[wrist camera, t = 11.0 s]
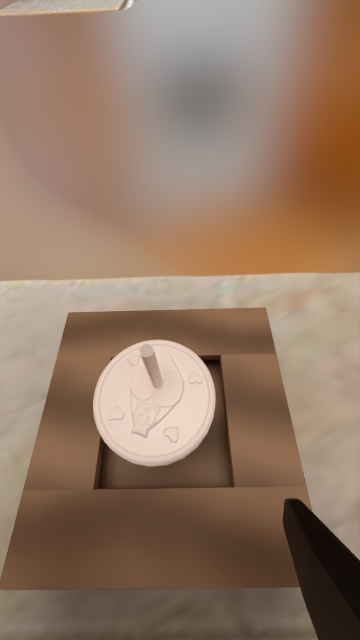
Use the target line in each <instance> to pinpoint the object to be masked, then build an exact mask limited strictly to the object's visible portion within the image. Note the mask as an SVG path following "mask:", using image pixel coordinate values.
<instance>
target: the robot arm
mask: <svg viewBox="0 0 360 640" xmlns="http://www.w3.org/2000/svg"><path fill="white" fill-rule="evenodd" d="M283 527H284V531H285V534H286V538H287V542H288V545H289V549H290V552H291V556H292V560H293V563H294V567H295V570H296V574H297V578H298V581H299V585H300V588H301V591H302V595H303V598H304V601H305V604H306V607H307V610H308V612H309V615H310V618H311V621H312V623H313V626H314V629H315V632H316V634H317V637H318V640H360V560H359V559H358V558H357V557H356V556H355V555H354V554H353V553H352V552H351V551H350V550H349V549H348V548H347V547H346V546H345V545H344V544H343V543H342V542H341V541H340V540H339V539H338V538H337V537H336V536H335V535H334V534H333V533H332V532H331V531H330V530H329V529H328V527H327V526H326V525H325V524H324V523H323V522H322V521H321V520H320V519H319V518H318V517H317V516H316V515H315V514H314V513H313V512H312V511H311V510H310V509H309V508H308V507H307V506H306V505H305V504H304V503H303V502H302V501H301V500H300V499H298V498H287V499H285V501H284V509H283Z"/></svg>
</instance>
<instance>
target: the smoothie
mask: <svg viewBox="0 0 360 640" xmlns="http://www.w3.org/2000/svg"><path fill="white" fill-rule="evenodd" d="M214 410H215V388H214V383H213V380H212V377H211V374H210V372H209V370H208V368H207V367H206V365H205V364H204V362H203V361H202V360H201V359H200V358H199V357H198V356H197V355H196V354H195V353H194V352H193V351H191V350H190V349H188V348H187V347H185V346H183V345H181V344H178V343H175V342H172V341H167V340H149V341H144V342H140V343H137V344H134V345H132V346H130V347H128V348H126V349H125V350H123V351H122V352H120V353H119V354H118V355H117V356H115V357H114V358H113V359H112V360H111V361H110V362H109V364H108V365H107V366H106V368H105V369H104V371H103V372H102V374H101V376H100V378H99V380H98V382H97V385H96V389H95V393H94V399H93V413H94V419H95V423H96V426H97V429H98V431H99V433H100V435H101V437H102V438H103V440H104V442H105V443H106V444H107V445H108V446H109V447H110V448H111V449H112V450H113V451H114V452H115V453H116V454H117V455H119V456H121V457H122V458H124V459H126V460H128V461H129V462H131V463H133V464H138V465H143V466H147V467H154V466H165V465H169V464H171V463H174V462H176V461H179V460H181V459H183V458H185V457H186V456H187V455H188V454H190V453H191V452H192V451H193V450H195V449H196V448H197V447H198V446H199V444H200V443H201V442H202V440H203V439H204V438H205V436H206V435H207V433H208V431H209V428H210V426H211V423H212V420H213V418H214Z"/></svg>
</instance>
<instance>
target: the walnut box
mask: <svg viewBox="0 0 360 640" xmlns="http://www.w3.org/2000/svg"><path fill="white" fill-rule="evenodd" d="M149 340H167V341H172V342H175V343H178V344H181V345H183V346H185V347H187V348H188V349H190V350H191V351H193V352H194V353H195V354H196V355H197V356H198V357H199V358H200V359H201V360H202V361H203V362H204V364H205V365H206V367H207V368H208V370H209V372H210V374H211V377H212V380H213V383H214V388H215V410H214V418H213V420H212V423H211V426H210V428H209V431H208V433H207V435H206V436H205V438H204V439H203V440H202V442H201V443H200V444H199V446H198V447H197V448H196V449H195V450H193V451H192V452H191V453H190V454H188V455H187V456H186V457H185V458H183V459H181V460H179V461H176V462H174V463H171V464H169V465H165V466H154V467H147V466H143V465H138V464H133V463H131V462H129V461H128V460H126V459H124V458H122V457H121V456H119V455H117V454H116V453H115V452H114V451H113V450H112V449H111V448H110V447H109V446H108V445H107V444H106V443H105V442H104V440H103V438H102V437H101V435H100V433H99V431H98V429H97V426H96V423H95V419H94V413H93V399H94V393H95V389H96V385H97V382H98V380H99V378H100V376H101V374H102V372H103V371H104V369H105V368H106V366H107V365H108V364H109V362H110V361H111V360H112V359H113V358H114V357H115V356H117V355H118V354H119V353H120V352H122V351H123V350H125V349H126V348H128V347H130V346H132V345H134V344H137V343H140V342H144V341H149ZM287 498H298V499H300V500H301V501H302V502H303V503H304V504H305V505H306V506H307V507H308V508H309V509H310V510H311V511H312V509H311V505H310V500H309V496H308V492H307V487H306V483H305V478H304V474H303V470H302V465H301V461H300V456H299V452H298V448H297V443H296V439H295V434H294V430H293V426H292V421H291V417H290V413H289V408H288V404H287V399H286V395H285V391H284V386H283V382H282V377H281V373H280V369H279V364H278V360H277V355H276V351H275V347H274V342H273V338H272V333H271V329H270V325H269V320H268V316H267V311H266V308H231V309H191V310H152V311H113V312H73V313H68V316H67V320H66V324H65V328H64V332H63V336H62V340H61V344H60V348H59V352H58V355H57V359H56V363H55V367H54V371H53V375H52V379H51V383H50V387H49V391H48V395H47V399H46V403H45V407H44V410H43V414H42V418H41V422H40V426H39V430H38V434H37V438H36V442H35V446H34V450H33V454H32V458H31V462H30V465H29V469H28V473H27V477H26V481H25V485H24V489H23V493H22V497H21V501H20V505H19V509H18V513H17V517H16V521H15V524H14V528H13V532H12V536H11V540H10V544H9V548H8V552H7V556H6V560H5V564H4V568H3V572H2V576H1V579H0V590H49V589H154V588H260V587H300V585H299V581H298V578H297V574H296V570H295V567H294V563H293V560H292V556H291V552H290V549H289V545H288V542H287V538H286V534H285V531H284V527H283V509H284V501H285V499H287Z"/></svg>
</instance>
